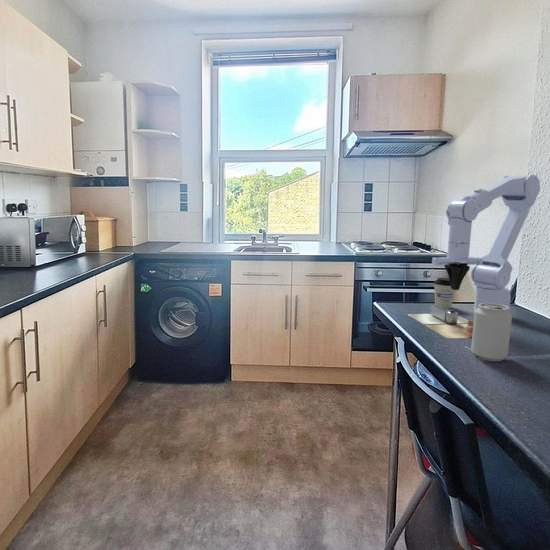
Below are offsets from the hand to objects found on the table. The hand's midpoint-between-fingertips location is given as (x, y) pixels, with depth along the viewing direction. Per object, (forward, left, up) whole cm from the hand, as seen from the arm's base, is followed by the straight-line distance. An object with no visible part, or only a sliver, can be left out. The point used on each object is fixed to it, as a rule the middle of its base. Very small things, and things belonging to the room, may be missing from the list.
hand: (454, 289), depth 126 cm
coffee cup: (-4, -13, -10) cm, 17 cm away
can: (+8, +29, -10) cm, 32 cm away
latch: (+4, +2, -8) cm, 9 cm away
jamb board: (+4, +6, -9) cm, 12 cm away
